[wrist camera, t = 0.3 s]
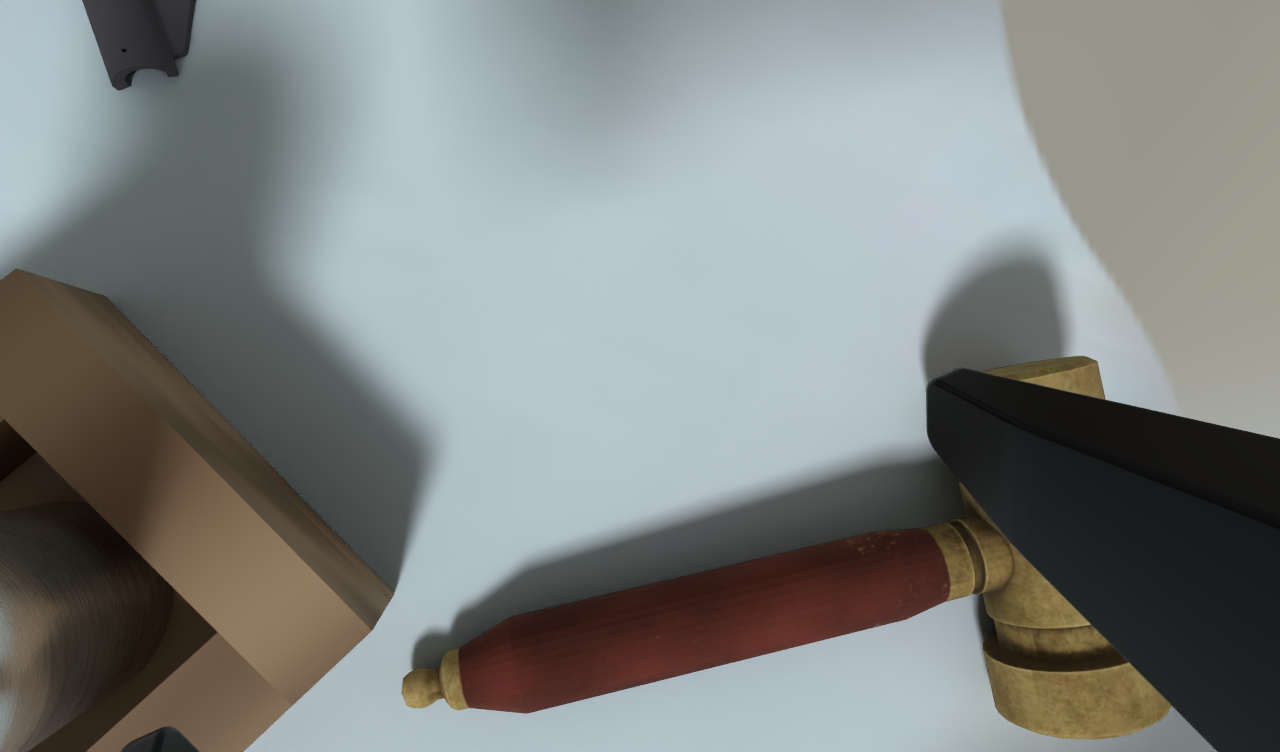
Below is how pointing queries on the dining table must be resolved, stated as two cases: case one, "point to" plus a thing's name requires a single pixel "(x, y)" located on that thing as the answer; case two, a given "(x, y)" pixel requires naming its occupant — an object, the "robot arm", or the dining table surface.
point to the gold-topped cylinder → (70, 617)
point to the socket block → (174, 524)
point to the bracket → (140, 35)
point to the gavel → (820, 621)
